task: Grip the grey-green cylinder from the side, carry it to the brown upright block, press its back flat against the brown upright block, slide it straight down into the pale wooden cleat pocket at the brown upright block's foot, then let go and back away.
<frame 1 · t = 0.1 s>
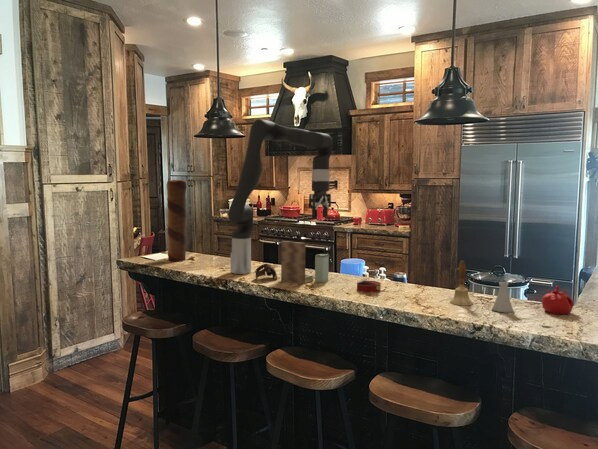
hand: (319, 217, 208), 29 cm above the countertop, tool pointing down, fingers open, 8 cm apart
flask: (502, 311, 170), on the countertop
brown upright block: (296, 281, 217), on the countertop
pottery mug: (267, 279, 222), on the countertop
grey-green cylinder: (321, 281, 218), on the countertop
pomegranate: (556, 313, 169), on the countertop
hand bell: (461, 303, 181), on the countertop
wafer roll: (177, 260, 271), on the countertop
canned food: (368, 290, 201), on the countertop
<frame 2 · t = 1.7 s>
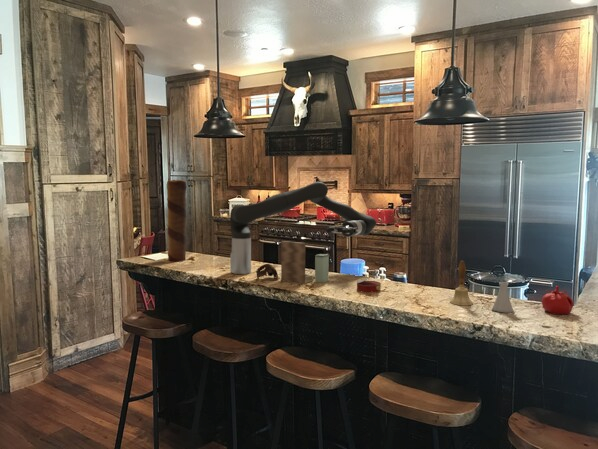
hand: (334, 231, 225), 22 cm above the countertop, tool horizontal, fingers open, 8 cm apart
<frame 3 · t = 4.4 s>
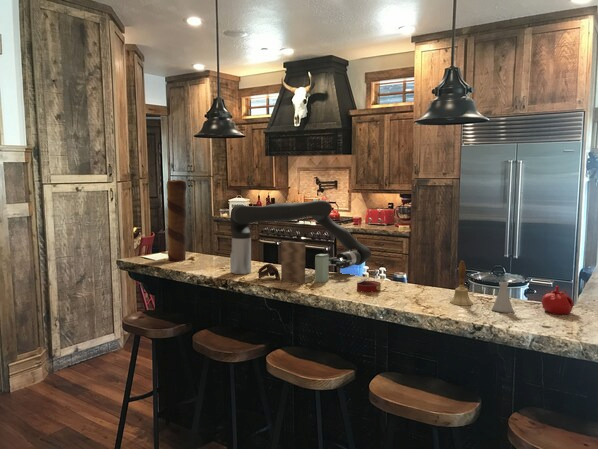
hand: (328, 264, 222), 7 cm above the countertop, tool horizontal, fingers open, 8 cm apart
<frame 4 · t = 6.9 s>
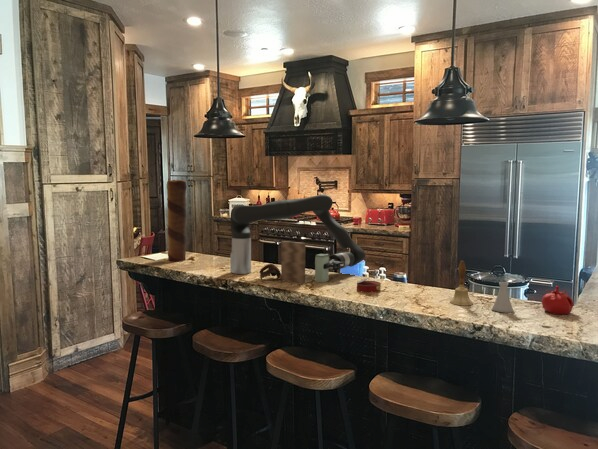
hand: (319, 266, 216), 7 cm above the countertop, tool horizontal, fingers closed on grey-green cylinder, 4 cm apart
grey-green cylinder: (321, 281, 218), on the countertop, touching gripper
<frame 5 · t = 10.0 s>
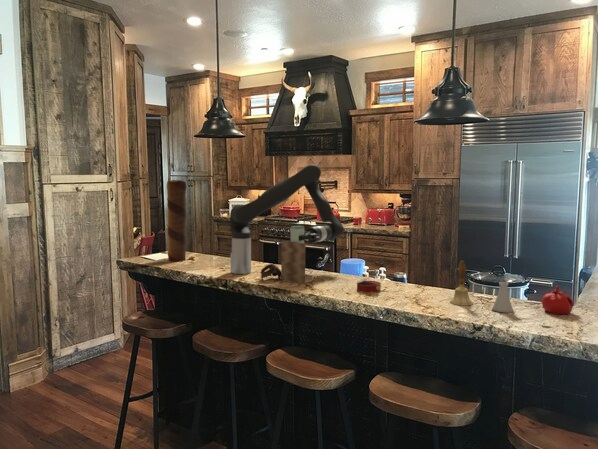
hand: (295, 237, 214), 20 cm above the countertop, tool horizontal, fingers closed on grey-green cylinder, 4 cm apart
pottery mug: (272, 279, 221), on the countertop, touching brown upright block
grey-green cylinder: (297, 252, 217), point 13 cm above the countertop, touching gripper
everything else where it was.
when the fingers open (8 cm above the countertop, at t = 13.6 s): grey-green cylinder drops 1 cm, resting in brown upright block.
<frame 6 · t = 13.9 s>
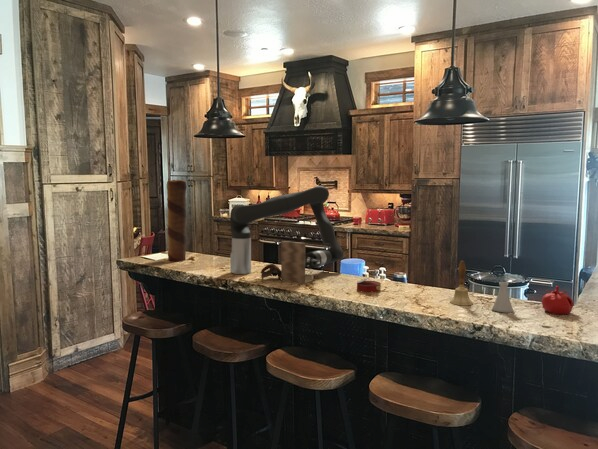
hand: (295, 263, 216), 8 cm above the countertop, tool horizontal, fingers open, 6 cm apart
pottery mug: (272, 279, 221), on the countertop
grey-green cylinder: (297, 280, 218), resting in brown upright block
everything else where it was.
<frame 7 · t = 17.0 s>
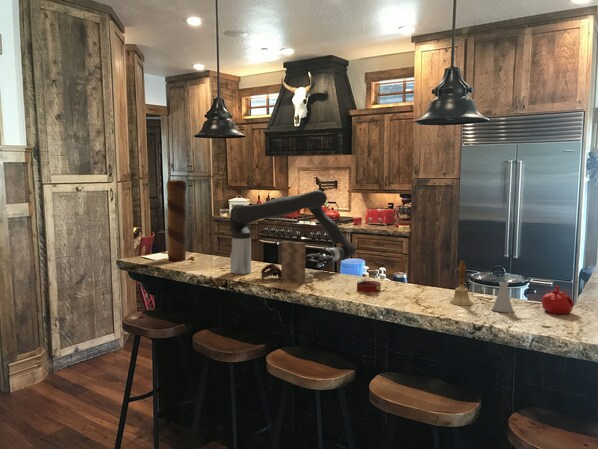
hand: (311, 260, 226), 8 cm above the countertop, tool horizontal, fingers open, 8 cm apart
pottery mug: (272, 279, 221), on the countertop, touching brown upright block
everything else where it was.
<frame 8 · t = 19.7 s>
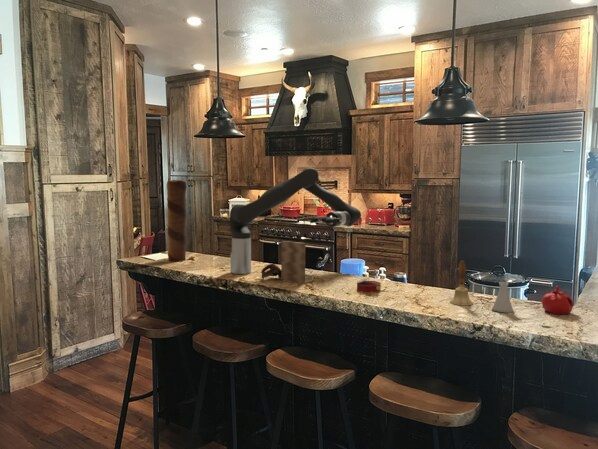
hand: (318, 221, 230), 26 cm above the countertop, tool horizontal, fingers open, 8 cm apart
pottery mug: (273, 279, 221), on the countertop
everything else where it was.
at the end: grey-green cylinder 0.8 cm from the target spot, resting in brown upright block; grey-green cylinder tilted 0°; the gripper is holding nothing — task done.
